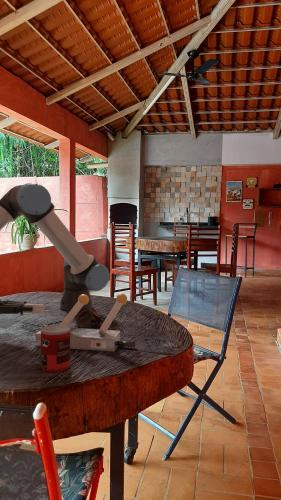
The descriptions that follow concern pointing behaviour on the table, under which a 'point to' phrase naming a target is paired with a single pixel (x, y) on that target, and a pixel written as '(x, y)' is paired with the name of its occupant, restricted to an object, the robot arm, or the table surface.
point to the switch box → (93, 340)
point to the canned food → (55, 348)
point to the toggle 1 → (75, 309)
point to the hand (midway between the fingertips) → (43, 308)
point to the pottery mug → (88, 317)
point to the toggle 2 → (113, 312)
